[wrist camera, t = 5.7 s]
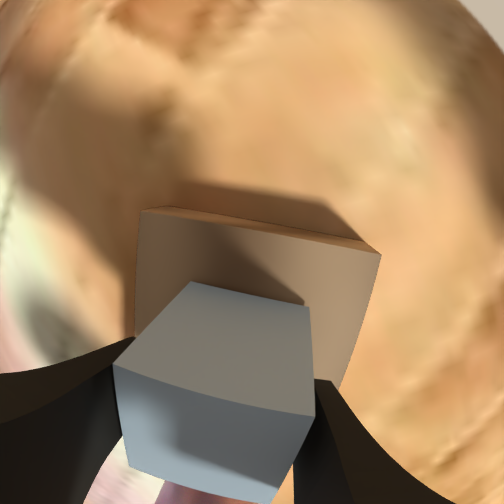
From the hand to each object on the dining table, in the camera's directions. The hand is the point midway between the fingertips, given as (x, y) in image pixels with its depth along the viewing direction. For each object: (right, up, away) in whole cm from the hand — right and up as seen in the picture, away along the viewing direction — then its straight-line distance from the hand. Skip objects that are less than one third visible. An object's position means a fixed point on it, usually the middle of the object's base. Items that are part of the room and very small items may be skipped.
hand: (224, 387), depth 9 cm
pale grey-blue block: (0, +1, +3) cm, 3 cm away
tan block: (+1, +1, +6) cm, 6 cm away
